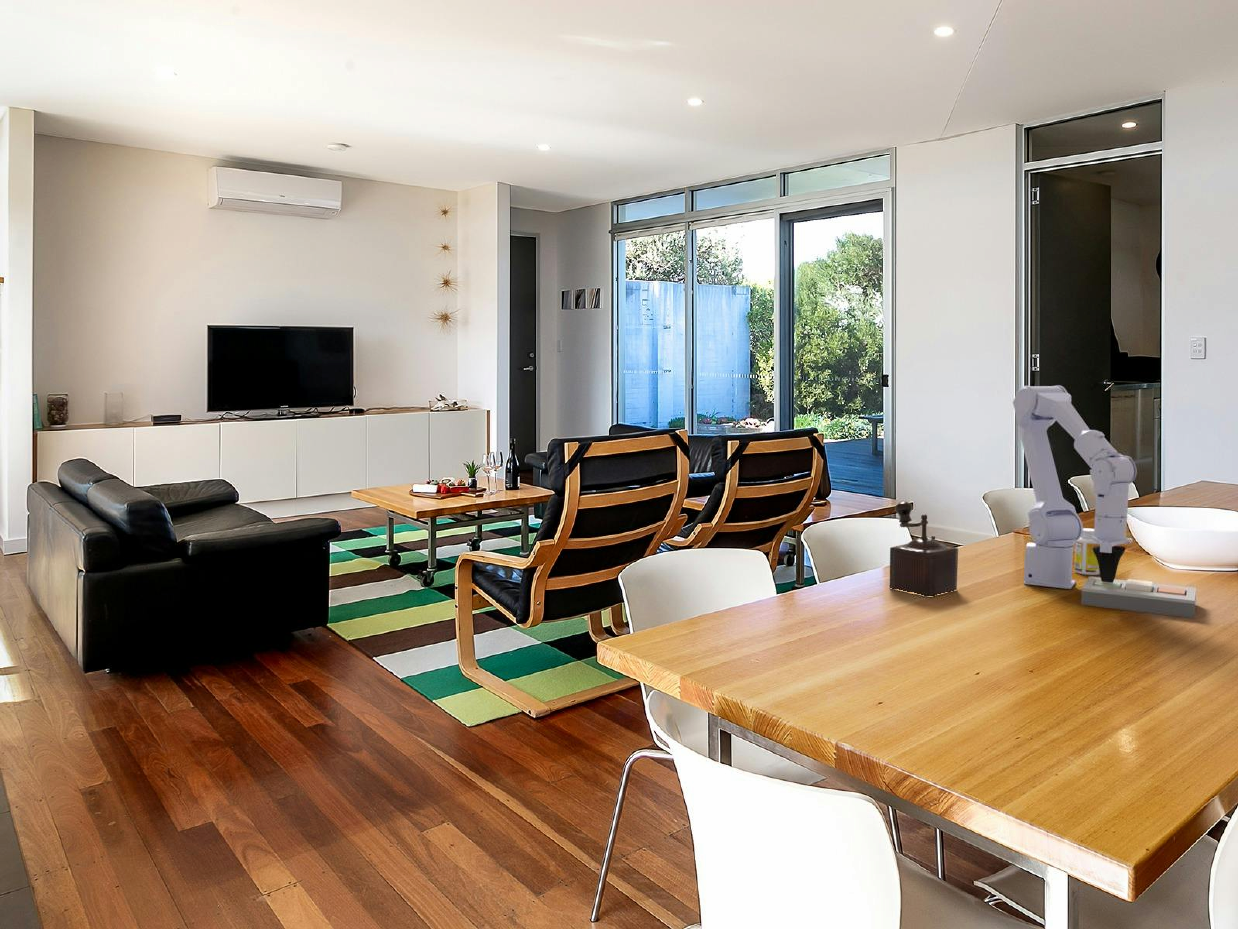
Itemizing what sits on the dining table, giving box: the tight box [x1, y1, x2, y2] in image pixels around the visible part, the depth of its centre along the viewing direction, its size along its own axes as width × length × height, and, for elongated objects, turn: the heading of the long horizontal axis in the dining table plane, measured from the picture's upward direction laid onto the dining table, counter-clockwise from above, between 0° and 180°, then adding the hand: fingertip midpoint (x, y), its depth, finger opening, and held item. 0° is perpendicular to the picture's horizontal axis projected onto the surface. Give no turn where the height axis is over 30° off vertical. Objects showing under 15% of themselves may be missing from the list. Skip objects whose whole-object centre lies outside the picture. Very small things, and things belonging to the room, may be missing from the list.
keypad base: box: [1080, 576, 1197, 619], centre depth 182 cm, size 19×12×3 cm, turn 57°
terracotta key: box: [1158, 586, 1185, 596], centre depth 179 cm, size 4×4×2 cm
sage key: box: [1094, 580, 1121, 588], centre depth 185 cm, size 4×4×2 cm
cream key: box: [1126, 578, 1154, 592], centre depth 182 cm, size 4×4×2 cm
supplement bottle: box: [1074, 527, 1100, 576], centre depth 210 cm, size 6×6×10 cm
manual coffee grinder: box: [889, 501, 959, 597], centre depth 197 cm, size 16×11×18 cm
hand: (1107, 581), depth 185 cm, fingers closed
